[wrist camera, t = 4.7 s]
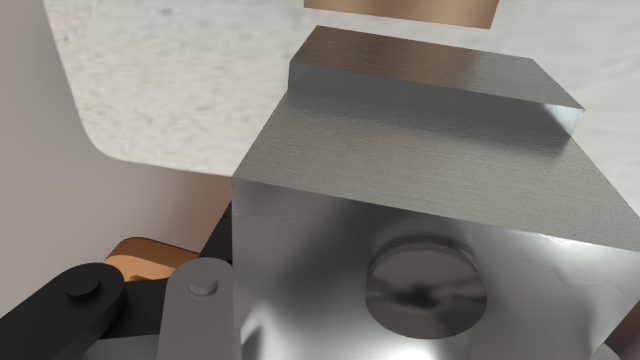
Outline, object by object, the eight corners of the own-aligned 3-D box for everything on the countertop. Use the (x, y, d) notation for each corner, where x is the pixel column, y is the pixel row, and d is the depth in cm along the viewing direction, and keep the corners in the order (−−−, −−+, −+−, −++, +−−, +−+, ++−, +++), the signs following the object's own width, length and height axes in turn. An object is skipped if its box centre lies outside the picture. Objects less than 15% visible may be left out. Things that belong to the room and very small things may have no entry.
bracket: (277, 275, 41) (259, 332, 36) (265, 322, 46) (246, 379, 40) (113, 227, 41) (67, 276, 36) (117, 279, 46) (77, 330, 40)
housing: (531, 58, 9) (731, 250, 4) (427, 310, 14) (448, 546, 9) (317, 25, 9) (217, 157, 4) (290, 283, 14) (229, 494, 9)
